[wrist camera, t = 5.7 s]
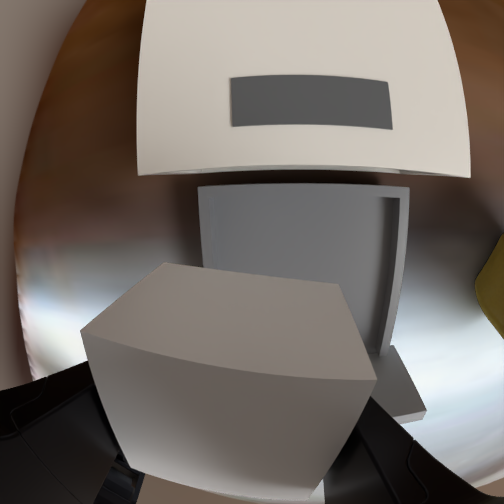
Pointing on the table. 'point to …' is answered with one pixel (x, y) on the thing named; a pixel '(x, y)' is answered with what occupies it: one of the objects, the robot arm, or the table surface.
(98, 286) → the table surface
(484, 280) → the flower pot
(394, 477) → the robot arm
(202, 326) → the block
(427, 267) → the table surface
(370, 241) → the grey sliding drawer
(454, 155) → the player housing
